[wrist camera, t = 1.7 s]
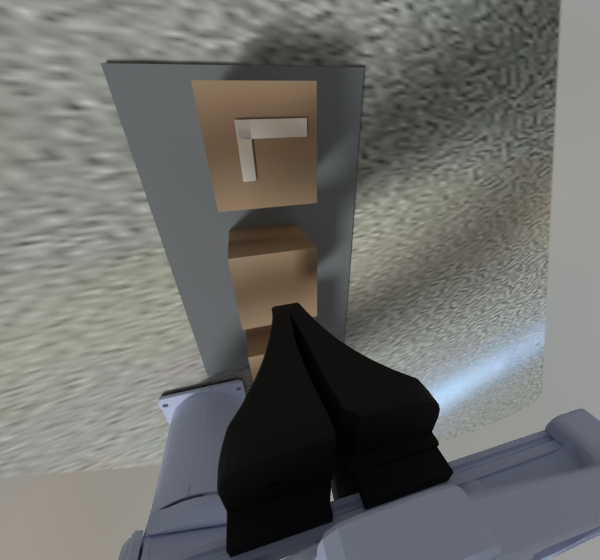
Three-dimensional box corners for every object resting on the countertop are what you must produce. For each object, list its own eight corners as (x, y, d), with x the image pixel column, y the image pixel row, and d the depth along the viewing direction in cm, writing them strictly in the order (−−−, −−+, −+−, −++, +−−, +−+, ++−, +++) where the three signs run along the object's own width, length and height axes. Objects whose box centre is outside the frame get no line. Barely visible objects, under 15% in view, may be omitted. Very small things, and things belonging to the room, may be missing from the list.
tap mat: (342, 344, 26) (343, 346, 26) (208, 373, 24) (207, 375, 23) (361, 68, 15) (364, 67, 14) (103, 64, 12) (100, 63, 12)
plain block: (299, 280, 21) (317, 316, 16) (240, 289, 20) (242, 330, 15) (297, 223, 18) (317, 247, 14) (228, 230, 17) (227, 259, 13)
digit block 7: (297, 187, 17) (320, 203, 13) (221, 193, 16) (217, 212, 12) (294, 99, 14) (321, 80, 10) (204, 100, 13) (190, 79, 9)
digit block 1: (304, 344, 24) (319, 388, 20) (252, 355, 23) (257, 403, 19) (302, 304, 22) (319, 344, 18) (244, 314, 21) (248, 359, 17)
